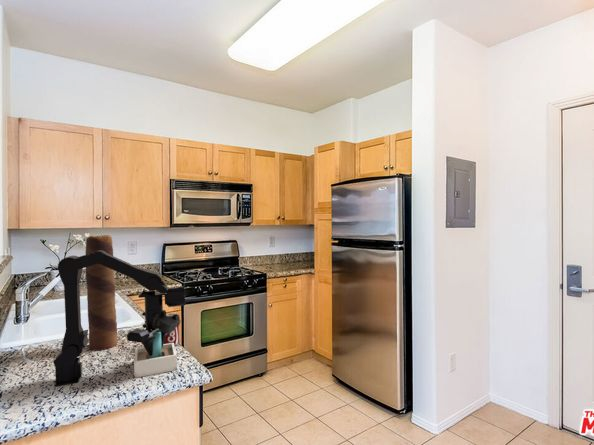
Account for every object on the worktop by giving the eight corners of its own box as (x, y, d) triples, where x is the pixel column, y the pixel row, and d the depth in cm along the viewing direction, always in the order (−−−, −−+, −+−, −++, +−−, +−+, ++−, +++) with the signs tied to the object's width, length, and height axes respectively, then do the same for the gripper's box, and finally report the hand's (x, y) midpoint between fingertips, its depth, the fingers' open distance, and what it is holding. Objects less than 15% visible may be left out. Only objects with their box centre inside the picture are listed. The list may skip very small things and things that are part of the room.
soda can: (173, 340, 146) (172, 312, 146) (182, 344, 142) (181, 315, 142) (158, 345, 141) (157, 316, 141) (167, 349, 137) (166, 319, 137)
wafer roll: (91, 353, 134) (87, 236, 133) (86, 346, 142) (82, 235, 141) (121, 346, 141) (117, 235, 140) (114, 339, 149) (110, 234, 148)
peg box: (134, 377, 113) (134, 362, 113) (135, 362, 125) (135, 348, 125) (177, 369, 118) (176, 355, 118) (174, 356, 130) (173, 342, 130)
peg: (146, 360, 121) (145, 334, 120) (155, 356, 124) (154, 330, 124) (155, 362, 119) (155, 335, 119) (164, 357, 123) (163, 332, 123)
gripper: (151, 318, 110) (153, 367, 110) (190, 303, 127) (191, 346, 127) (125, 315, 114) (126, 362, 114) (166, 301, 131) (167, 343, 131)
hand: (155, 353), depth 122 cm, fingers closed on peg, 4 cm apart
